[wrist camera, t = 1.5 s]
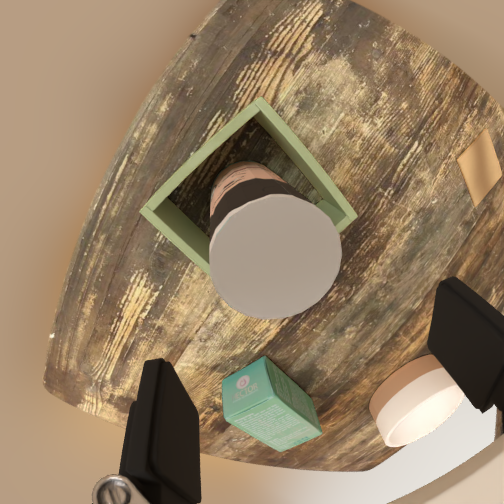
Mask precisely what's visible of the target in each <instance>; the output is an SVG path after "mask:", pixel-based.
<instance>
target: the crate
mask: <svg viewBox="0 0 504 504" xmlns="http://www.w3.org/2000/svg"><path fill="white" fill-rule="evenodd" d="M252 117H254V118H255V119H256V120H257V121H258V123H259V124H260V125H261V126H262V127H263V128H264V129H265V130H266V131H267V133H268V134H269V135H270V136H271V137H272V138H273V139H274V140H275V142H276V143H277V144H278V145H279V146H280V147H281V148H282V150H283V151H284V152H285V153H286V154H287V155H288V157H289V158H290V159H291V160H292V161H293V162H294V164H295V165H296V166H297V167H298V168H299V170H300V171H301V172H302V173H303V174H304V176H305V177H306V178H307V179H308V181H309V182H310V183H311V184H312V185H313V187H314V188H315V189H316V190H317V192H318V193H319V194H320V195H321V197H322V198H323V199H322V200H321V201H320V202H318V203H317V204H316V205H315V206H317V207H318V208H319V209H320V210H321V211H322V212H324V213H325V214H326V215H327V216H328V217H330V219H331V221H332V223H333V224H334V226H335V228H336V230H337V232H338V233H340V232H341V231H342V230H344V229H345V228H346V227H347V226H348V225H349V224H350V223H351V222H352V221H353V220H355V219H356V218H357V217H358V215H357V214H356V212H355V211H354V209H353V208H352V207H351V205H350V204H349V202H348V201H347V200H346V198H345V197H344V196H343V194H342V193H341V192H340V190H339V189H338V187H337V186H336V185H335V183H334V182H333V181H332V180H331V178H330V177H329V176H328V174H327V173H326V172H325V170H324V169H323V168H322V167H321V165H320V164H319V163H318V161H317V160H316V159H315V158H314V156H313V155H312V154H311V153H310V151H309V150H308V149H307V148H306V147H305V145H304V144H303V143H302V142H301V140H300V139H299V138H298V137H297V136H296V134H295V133H294V132H293V131H292V130H291V129H290V127H289V126H288V125H287V124H286V123H285V122H284V120H283V119H282V118H281V117H280V116H279V115H278V114H277V113H276V111H275V110H274V109H273V108H272V107H271V106H270V105H269V104H268V102H267V101H266V100H265V99H264V98H263V97H262V96H261V97H259V98H258V99H256V100H255V101H253V102H252V103H250V104H249V105H248V106H247V107H246V108H244V109H243V110H242V111H241V112H239V113H238V114H237V115H236V116H235V117H234V118H233V119H231V120H230V121H229V122H228V123H227V124H226V125H225V126H223V127H222V128H221V129H220V130H219V131H218V132H217V133H216V134H215V135H213V136H212V137H211V138H210V139H209V140H208V141H207V142H206V143H205V144H204V145H203V146H202V147H200V148H199V149H198V150H197V151H196V152H195V153H194V154H193V155H192V156H191V157H190V158H189V159H188V160H187V161H186V162H185V163H184V164H183V165H182V166H181V167H180V168H179V169H178V170H177V171H176V172H175V173H174V174H173V175H172V176H171V177H170V178H169V179H168V180H167V181H166V182H165V183H164V184H163V185H162V186H161V187H160V188H159V189H158V190H157V191H156V192H155V193H154V194H153V196H152V197H151V198H150V199H149V200H148V202H147V203H146V204H145V205H144V206H143V208H142V209H141V210H140V211H139V212H140V213H141V214H142V215H143V216H144V217H145V218H146V219H147V220H148V221H149V222H150V223H152V224H153V225H154V226H155V227H156V228H157V229H158V230H159V231H160V232H161V233H162V234H163V235H164V236H165V237H167V238H168V239H169V240H170V241H171V242H172V243H173V244H174V245H175V246H176V247H178V248H179V249H180V250H181V251H182V252H183V253H184V254H185V255H186V256H187V257H189V258H190V259H191V260H192V261H193V262H194V263H195V264H196V265H197V266H199V267H200V268H201V269H202V270H203V271H204V272H205V273H206V274H208V275H209V276H210V262H209V244H210V238H209V237H208V236H207V235H206V234H205V233H204V232H203V231H202V230H201V229H200V228H199V227H198V226H196V225H195V224H194V223H193V222H192V221H191V220H190V219H189V218H188V217H187V216H186V215H185V214H184V213H183V212H182V211H181V210H180V209H179V208H178V207H177V206H176V205H175V204H174V203H173V202H171V201H170V200H169V199H168V198H167V196H168V195H169V194H170V193H171V192H172V191H173V190H174V189H175V188H176V187H177V186H178V185H179V184H180V183H181V182H182V181H183V180H184V179H185V178H186V177H187V176H188V175H189V174H190V173H191V172H193V171H194V170H195V169H196V168H197V167H198V166H199V165H200V164H201V163H202V162H203V161H204V160H205V159H206V158H207V157H208V156H209V155H210V154H212V153H213V152H214V151H215V150H216V149H217V148H218V147H219V146H220V145H221V144H222V143H224V142H225V141H226V140H227V139H228V138H229V137H230V136H231V135H232V134H234V133H235V132H236V131H237V130H238V129H239V128H240V127H242V126H243V125H244V124H245V123H246V122H247V121H249V120H250V119H251V118H252Z"/></svg>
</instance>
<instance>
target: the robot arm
mask: <svg viewBox="0 0 504 504" xmlns="http://www.w3.org/2000/svg"><path fill="white" fill-rule="evenodd" d="M427 344H428V348H429V350H430V351H431V353H432V354H433V355H434V356H435V357H436V359H437V360H438V361H439V362H440V364H441V365H442V366H443V367H444V369H445V370H446V371H447V372H448V374H449V375H450V376H451V377H452V379H453V380H454V381H455V382H456V384H457V385H458V386H459V388H460V389H461V390H462V391H463V393H464V394H465V395H466V397H467V398H468V399H469V401H470V402H471V403H472V405H473V406H474V407H475V408H476V409H480V411H481V412H482V413H484V412H485V411H487V410H488V409H490V408H491V407H492V406H493V405H494V404H495V406H496V407H497V415H496V428H495V439H494V442H492V443H491V444H490V445H489V446H487V447H486V448H484V449H483V450H482V451H480V452H479V453H477V454H476V455H475V456H473V457H471V458H470V459H469V460H467V461H466V462H464V463H462V464H461V465H459V466H458V467H456V468H455V469H453V470H451V471H450V472H448V473H447V474H445V475H443V476H441V477H439V478H438V479H436V480H434V481H432V482H431V483H429V484H427V485H425V486H423V487H421V488H419V489H417V490H415V491H413V492H412V493H409V494H408V495H405V496H403V497H401V498H399V499H396V500H394V501H392V502H390V503H387V504H504V316H503V315H502V314H501V313H500V312H499V311H498V310H496V309H495V308H494V307H493V306H492V305H490V304H489V303H488V302H487V301H486V300H484V299H483V298H482V297H481V296H479V295H478V294H477V293H476V292H474V291H473V290H472V289H471V288H469V287H468V286H467V285H466V284H464V283H463V282H462V281H460V280H459V279H458V278H456V277H450V278H448V279H445V280H443V281H441V282H440V283H439V286H438V287H437V290H436V296H435V303H434V309H433V315H432V321H431V326H430V331H429V336H428V341H427ZM200 479H201V478H200V443H199V415H198V411H197V409H196V407H195V405H194V404H193V402H192V400H191V399H190V397H189V395H188V393H187V392H186V390H185V388H184V386H183V384H182V383H181V381H180V379H179V377H178V375H177V374H176V372H175V370H174V368H173V366H172V364H171V363H170V362H165V360H164V359H163V358H159V359H153V360H147V361H145V363H144V367H143V371H142V376H141V381H140V385H139V390H138V395H137V401H134V402H133V403H132V404H131V407H130V411H129V416H128V421H127V426H126V432H125V439H124V444H123V450H122V456H121V462H120V469H119V475H116V474H112V475H107V476H105V477H103V478H101V479H100V480H99V481H98V482H97V483H96V485H95V486H94V488H93V492H92V501H93V503H92V504H197V503H200V502H201V480H200Z"/></svg>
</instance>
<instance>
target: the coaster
mask: <svg viewBox="0 0 504 504" xmlns="http://www.w3.org/2000/svg"><path fill="white" fill-rule="evenodd" d="M456 160H457V163H458V165H459V167H460V170H461V172H462V175H463V177H464V180H465V183H466V185H467V188H468V191H469V193H470V196H471V199H472V202H473V205H474V207H476V206H477V205H478V204H479V203H480V202H481V200H482V199H483V198H484V197H485V196H486V194H487V193H488V192H489V191H490V190H491V188H492V187H493V186H494V185H495V183H496V182H497V181H498V180H499V178H500V177H501V176H502V172H501V168H500V165H499V162H498V159H497V156H496V152H495V150H494V147H493V144H492V141H491V138H490V135H489V133H488V130H487V128H485V129H484V130H483V131H482V132H481V133H480V134H479V135H478V137H477V138H476V139H475V140H474V141H473V142H472V143H471V144H470V145H469V146H468V148H467V149H466V150H465V151H464V152H463V153H462V154H461V155H460V156H459V157H458V158H457V159H456Z"/></svg>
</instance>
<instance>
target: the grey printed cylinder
mask: <svg viewBox="0 0 504 504" xmlns="http://www.w3.org/2000/svg"><path fill="white" fill-rule="evenodd" d="M341 256H342V249H341V243H340V237H339V233H338V232H337V230H336V228H335V226H334V224H333V223H332V221H331V219H330V217H328V216H327V215H326V214H325V213H324V212H322V211H321V210H320V209H319V208H318V207H317V206H315V205H314V204H313V203H312V202H310V201H309V200H308V199H307V198H306V197H304V196H303V195H302V194H301V193H299V192H298V191H297V190H296V189H294V188H293V187H292V186H290V185H289V184H288V183H287V182H285V181H284V180H283V179H282V178H280V177H279V176H278V175H276V174H275V173H274V172H272V171H271V170H270V169H268V168H267V167H266V166H265V165H263V164H260V163H257V162H255V161H239V162H235V163H232V164H230V165H228V166H227V167H226V168H224V169H223V170H221V171H220V173H219V174H218V175H217V177H216V178H215V179H214V182H213V185H212V188H211V204H210V244H209V262H210V277H211V279H212V282H213V284H214V287H215V289H216V291H217V293H218V294H219V295H220V297H221V298H222V299H223V300H224V301H225V302H226V303H227V304H228V305H229V306H230V307H231V308H233V309H235V310H237V311H238V312H240V313H242V314H244V315H246V316H250V317H255V318H259V319H282V318H286V317H289V316H292V315H295V314H298V313H301V312H303V311H304V310H306V309H307V308H309V307H311V306H312V305H314V304H315V303H317V302H318V301H319V300H320V299H321V298H322V297H323V296H324V294H325V293H326V292H327V291H328V290H329V289H330V288H331V286H332V284H333V282H334V280H335V278H336V276H337V274H338V272H339V268H340V262H341Z"/></svg>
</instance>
